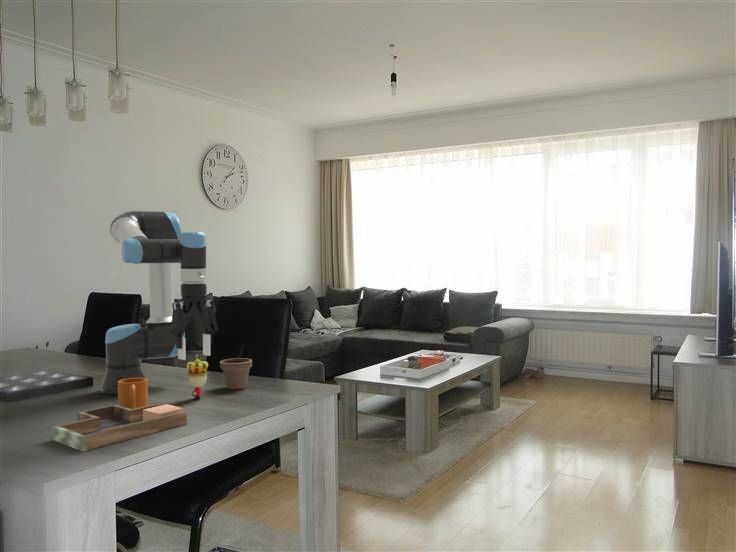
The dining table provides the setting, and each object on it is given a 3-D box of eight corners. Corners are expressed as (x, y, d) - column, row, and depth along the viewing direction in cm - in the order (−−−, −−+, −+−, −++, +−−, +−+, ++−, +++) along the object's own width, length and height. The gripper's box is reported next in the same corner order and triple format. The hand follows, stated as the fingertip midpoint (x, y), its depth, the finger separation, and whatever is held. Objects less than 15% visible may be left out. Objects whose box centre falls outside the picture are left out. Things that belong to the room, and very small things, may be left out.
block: (143, 423, 172) (142, 409, 172) (166, 417, 178) (166, 404, 178) (159, 428, 167) (159, 414, 167) (183, 421, 174) (183, 408, 174)
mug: (111, 415, 180) (110, 385, 180) (122, 406, 192) (121, 378, 192) (142, 413, 181) (141, 384, 181) (151, 404, 193) (150, 376, 193)
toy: (189, 396, 203) (188, 353, 203) (210, 396, 204) (210, 352, 204) (184, 401, 196) (183, 356, 196) (206, 401, 197) (206, 356, 196)
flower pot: (213, 389, 214) (213, 361, 214) (232, 383, 224) (231, 356, 224) (240, 392, 210) (240, 364, 209) (258, 385, 220) (258, 358, 220)
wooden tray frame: (37, 433, 161) (36, 420, 161) (139, 410, 185) (138, 399, 185) (82, 451, 146) (82, 437, 146) (186, 424, 170) (186, 411, 170)
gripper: (170, 284, 170) (171, 363, 170) (229, 281, 186) (230, 353, 187) (155, 283, 174) (156, 360, 175) (214, 281, 191) (214, 351, 192)
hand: (194, 357), depth 181 cm, fingers open, 8 cm apart
